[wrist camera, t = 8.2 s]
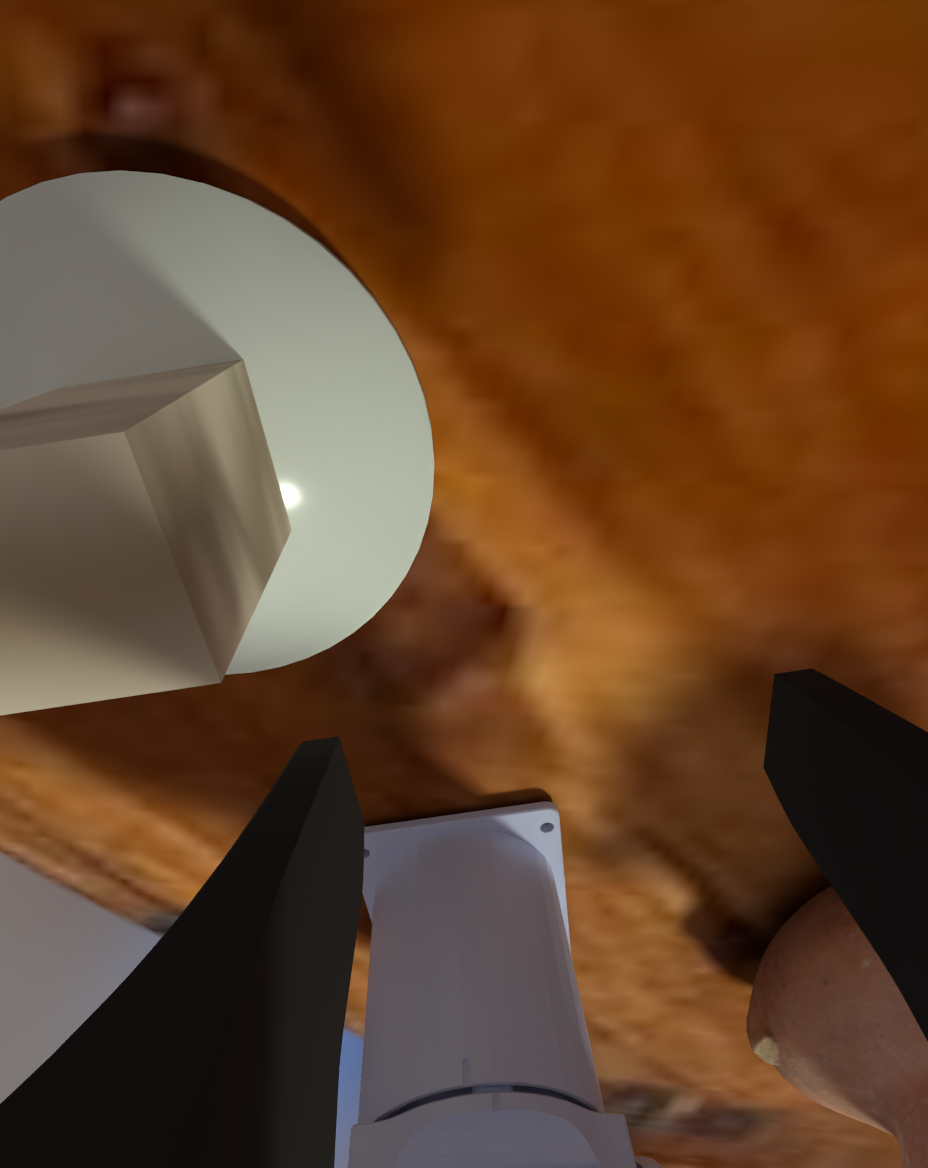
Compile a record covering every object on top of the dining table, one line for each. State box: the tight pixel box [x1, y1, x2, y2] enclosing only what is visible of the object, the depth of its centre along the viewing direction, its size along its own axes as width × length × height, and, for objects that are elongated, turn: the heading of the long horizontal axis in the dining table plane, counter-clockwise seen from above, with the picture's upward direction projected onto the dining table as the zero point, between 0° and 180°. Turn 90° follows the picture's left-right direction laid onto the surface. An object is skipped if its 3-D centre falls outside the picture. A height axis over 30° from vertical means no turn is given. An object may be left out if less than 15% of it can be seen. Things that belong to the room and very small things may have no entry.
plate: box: [0, 170, 434, 675], centre depth 17 cm, size 13×13×1 cm
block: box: [0, 360, 292, 715], centre depth 13 cm, size 4×4×7 cm
